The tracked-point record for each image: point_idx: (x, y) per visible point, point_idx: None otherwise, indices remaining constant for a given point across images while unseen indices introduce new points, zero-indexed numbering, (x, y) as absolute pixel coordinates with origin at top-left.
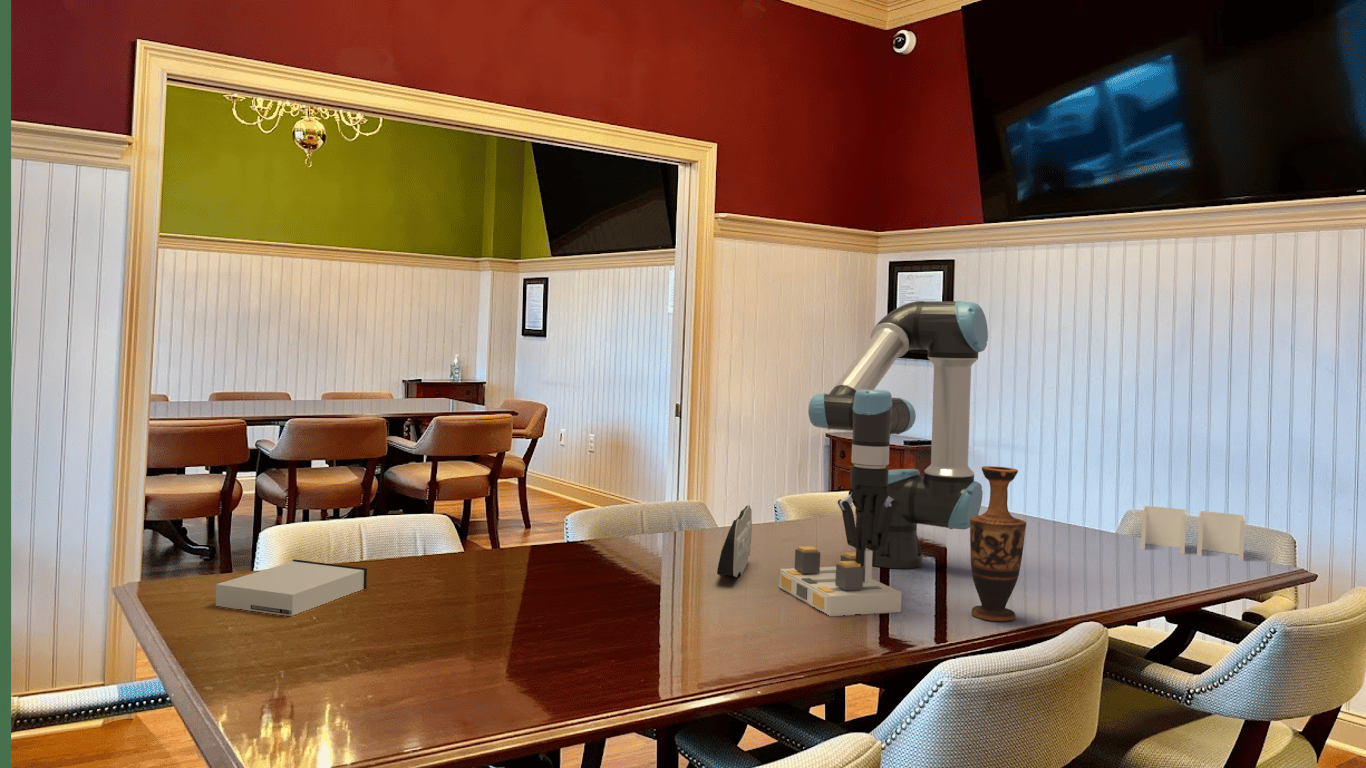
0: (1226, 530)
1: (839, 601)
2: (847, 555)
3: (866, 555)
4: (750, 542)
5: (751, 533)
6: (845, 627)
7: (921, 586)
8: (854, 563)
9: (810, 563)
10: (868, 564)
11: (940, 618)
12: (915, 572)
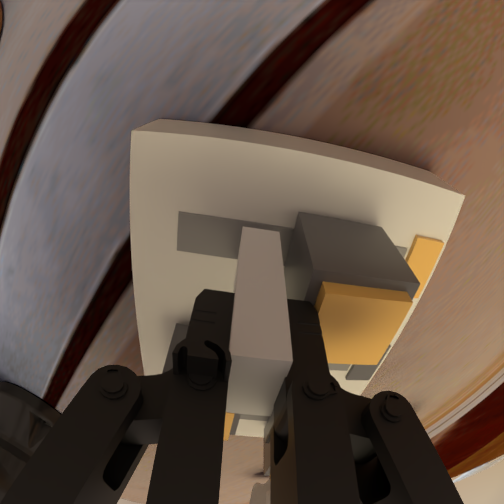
0: None
1: (426, 178)
2: (231, 423)
3: (285, 333)
4: (254, 500)
5: None
6: (463, 63)
7: (9, 312)
8: (345, 317)
9: None
10: (262, 286)
11: (84, 24)
12: (8, 370)
